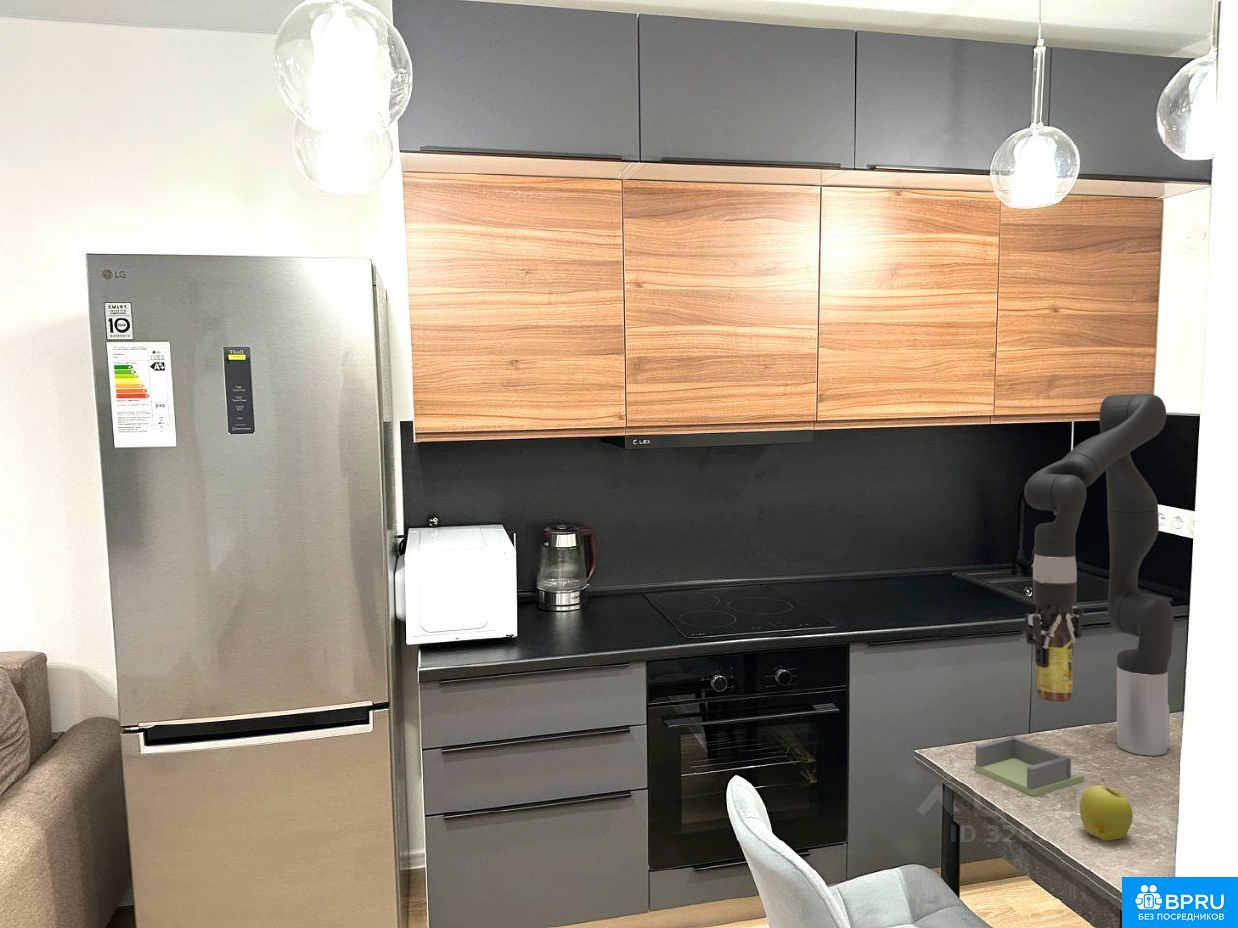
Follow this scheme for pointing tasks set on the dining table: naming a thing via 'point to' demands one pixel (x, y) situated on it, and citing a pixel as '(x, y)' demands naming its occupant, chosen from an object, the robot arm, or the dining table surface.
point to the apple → (1105, 812)
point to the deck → (1025, 766)
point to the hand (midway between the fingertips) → (1054, 663)
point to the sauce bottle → (1057, 665)
